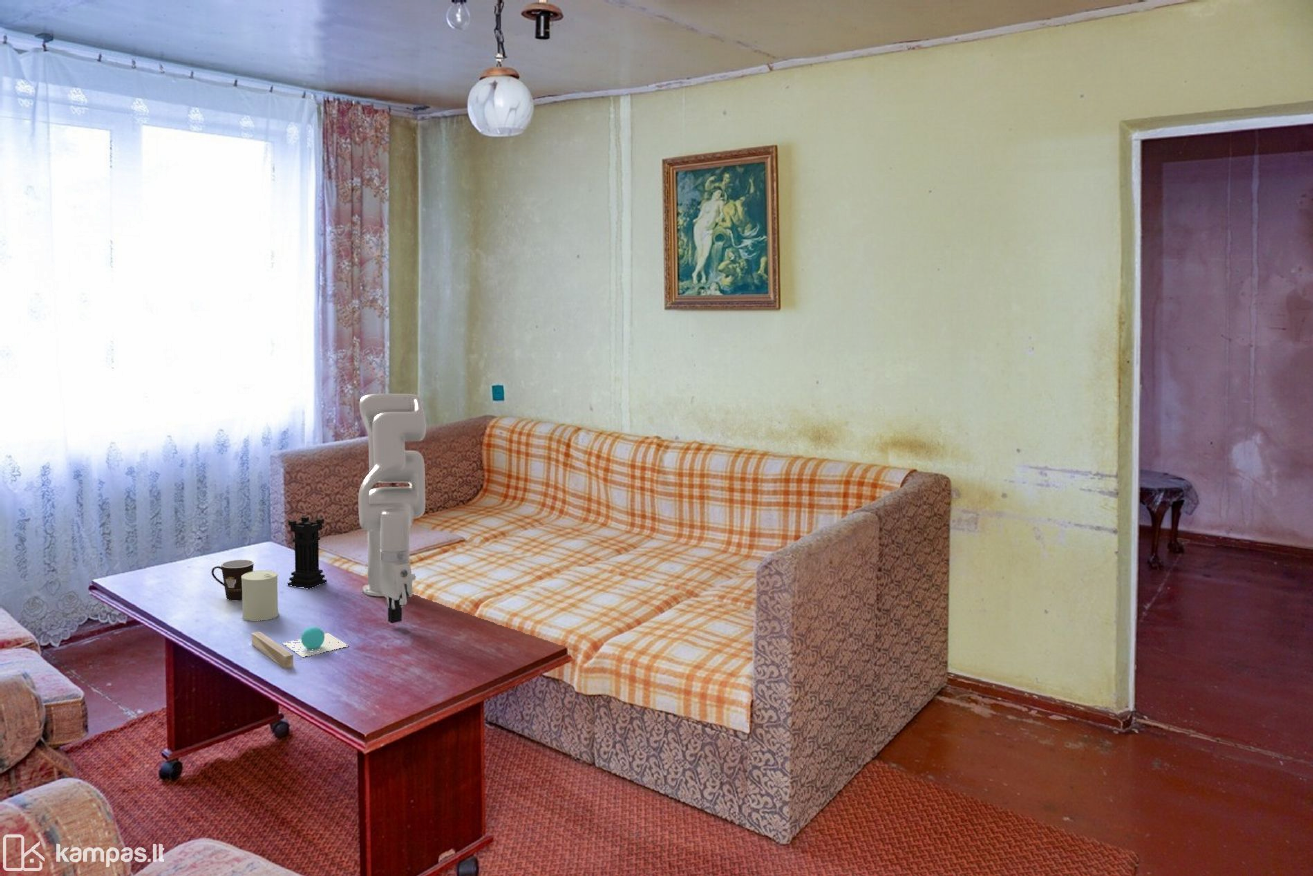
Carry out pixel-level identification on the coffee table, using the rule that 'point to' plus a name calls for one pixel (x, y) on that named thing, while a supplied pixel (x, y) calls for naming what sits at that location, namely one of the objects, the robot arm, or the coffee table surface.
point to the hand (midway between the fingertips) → (394, 621)
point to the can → (259, 595)
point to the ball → (312, 637)
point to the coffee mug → (234, 577)
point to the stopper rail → (272, 650)
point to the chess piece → (306, 553)
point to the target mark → (323, 648)
